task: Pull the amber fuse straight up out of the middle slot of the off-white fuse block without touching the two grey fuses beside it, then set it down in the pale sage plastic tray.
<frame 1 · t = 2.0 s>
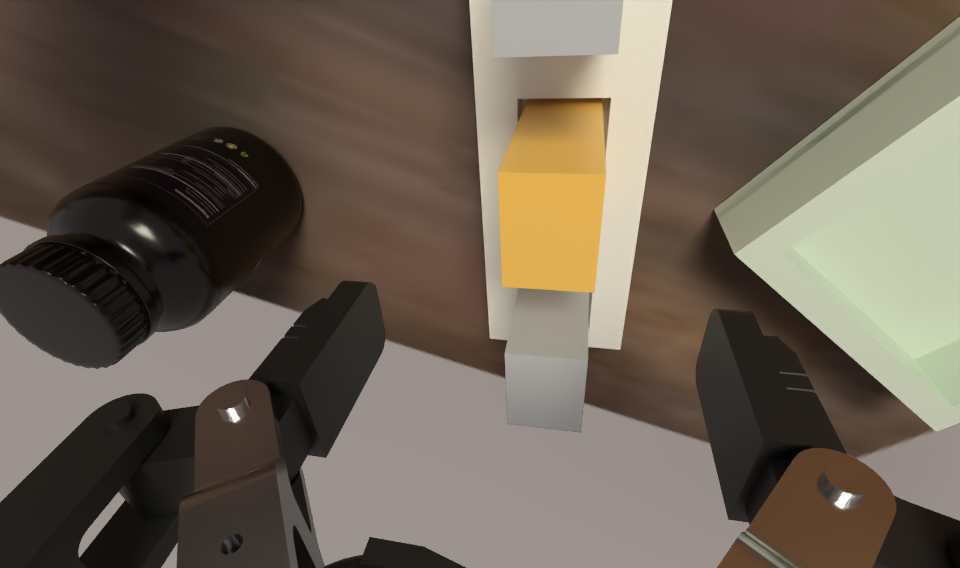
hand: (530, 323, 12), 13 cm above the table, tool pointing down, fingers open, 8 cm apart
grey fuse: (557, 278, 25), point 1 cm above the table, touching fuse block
amber fuse: (562, 145, 21), point 1 cm above the table, touching fuse block
supplement bottle: (251, 182, 27), on the table
fuse block: (563, 138, 22), on the table
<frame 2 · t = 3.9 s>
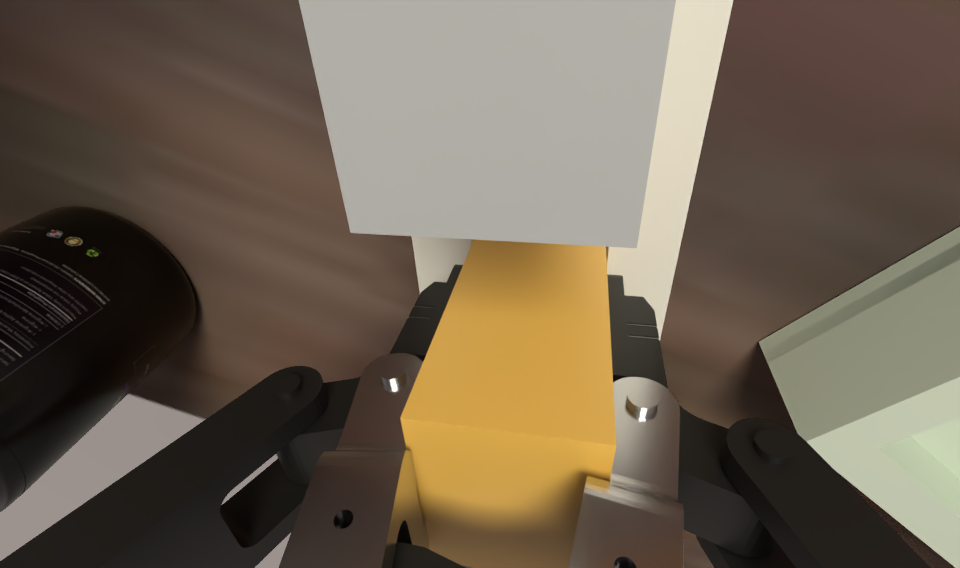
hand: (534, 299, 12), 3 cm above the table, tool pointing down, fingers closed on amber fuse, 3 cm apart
amber fuse: (544, 258, 14), point 1 cm above the table, touching fuse block, gripper
supplement bottle: (130, 273, 20), on the table
fuse block: (544, 241, 15), on the table
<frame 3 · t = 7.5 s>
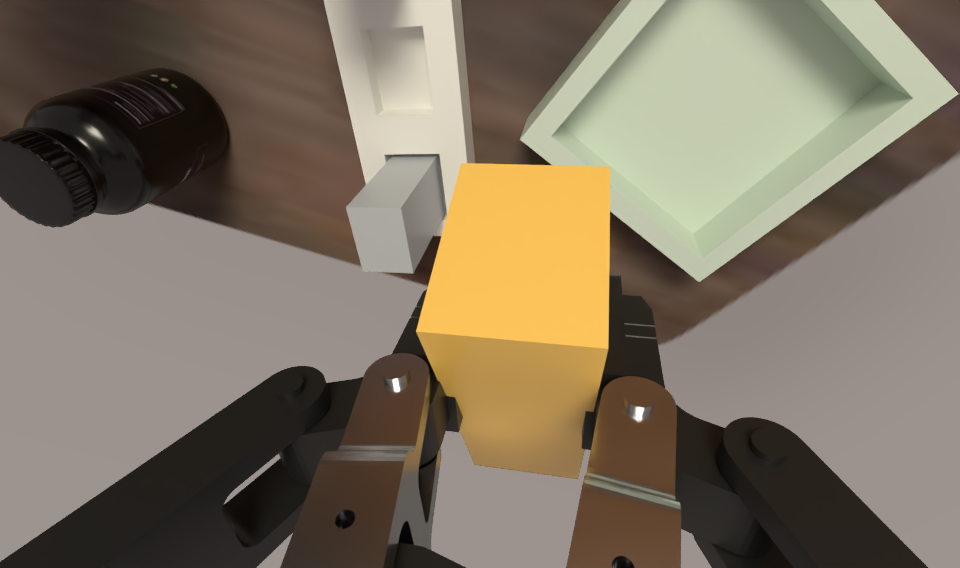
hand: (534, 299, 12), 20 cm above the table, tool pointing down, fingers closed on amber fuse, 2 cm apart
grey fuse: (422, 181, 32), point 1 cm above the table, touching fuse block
amber fuse: (532, 405, 15), point 20 cm above the table, tilted 70°, touching gripper
supplement bottle: (187, 116, 34), on the table
sage tray: (701, 97, 27), on the table
fuse block: (409, 65, 29), on the table
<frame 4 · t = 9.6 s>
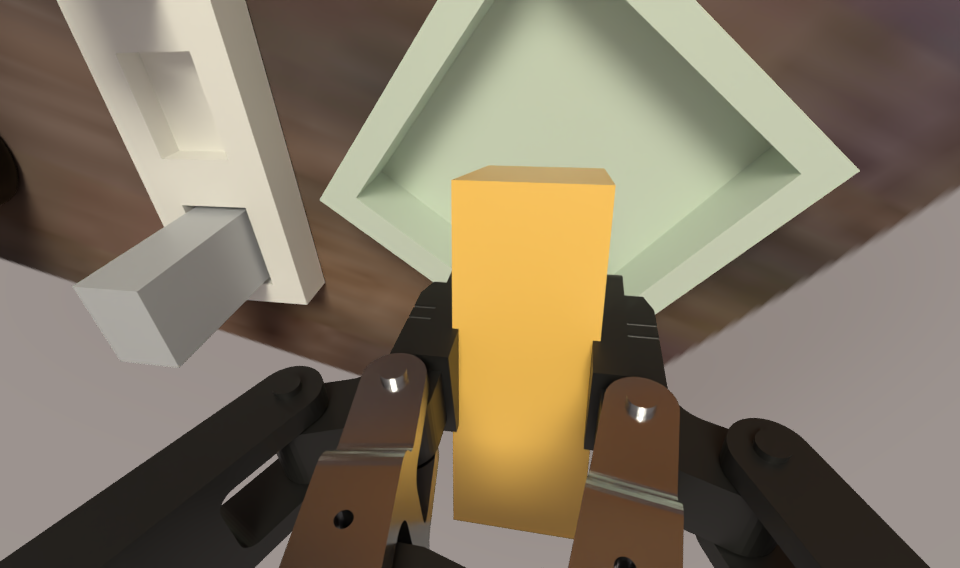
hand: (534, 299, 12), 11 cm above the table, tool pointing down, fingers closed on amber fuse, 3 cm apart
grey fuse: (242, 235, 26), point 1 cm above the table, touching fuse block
amber fuse: (524, 472, 13), point 13 cm above the table, tilted 107°, touching gripper
sage tray: (560, 151, 21), on the table
fuse block: (206, 97, 23), on the table
when the fingers open (5 cm above the table, at t = 11.4 s): amber fuse drops 2 cm and tips over, resting on sage tray.
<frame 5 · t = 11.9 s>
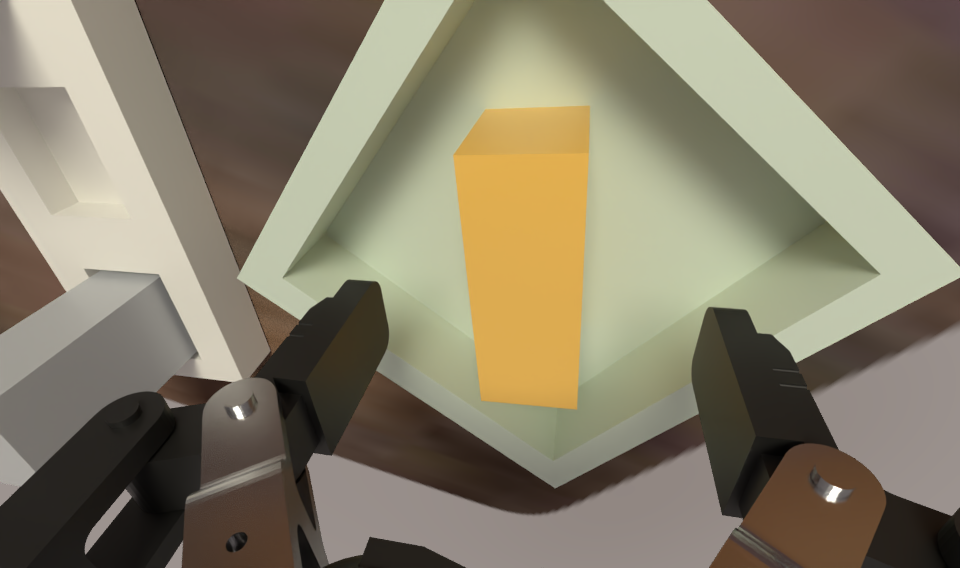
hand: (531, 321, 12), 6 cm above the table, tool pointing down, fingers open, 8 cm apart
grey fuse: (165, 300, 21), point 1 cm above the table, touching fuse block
amber fuse: (534, 361, 17), point 3 cm above the table, tilted 90°, touching sage tray
sage tray: (549, 213, 17), on the table
fuse block: (109, 137, 18), on the table
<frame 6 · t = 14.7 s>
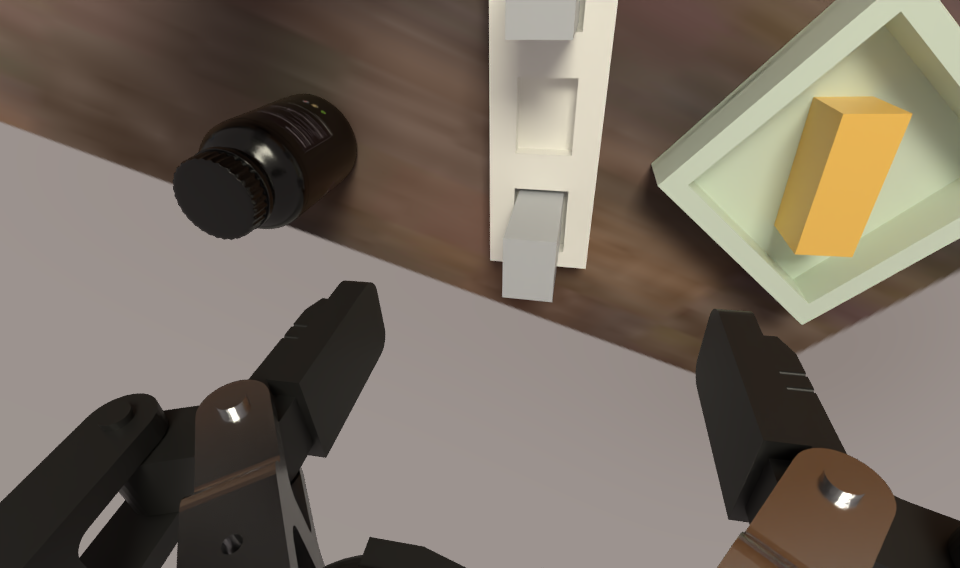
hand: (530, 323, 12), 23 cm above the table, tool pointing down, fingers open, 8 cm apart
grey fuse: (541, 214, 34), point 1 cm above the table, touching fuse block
amber fuse: (810, 240, 29), point 3 cm above the table, tilted 90°, touching sage tray
supplement bottle: (318, 138, 36), on the table
sage tray: (819, 158, 30), on the table
fuse block: (548, 109, 31), on the table
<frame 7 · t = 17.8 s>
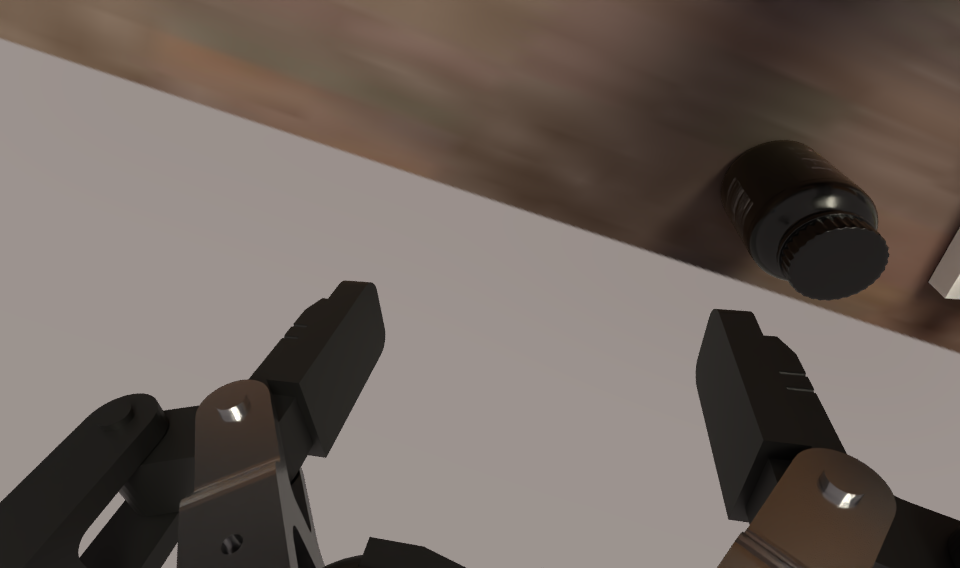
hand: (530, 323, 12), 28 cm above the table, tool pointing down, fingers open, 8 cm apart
supplement bottle: (768, 181, 36), on the table
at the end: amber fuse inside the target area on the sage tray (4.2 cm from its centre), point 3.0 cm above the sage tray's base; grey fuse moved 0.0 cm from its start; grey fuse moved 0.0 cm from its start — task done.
